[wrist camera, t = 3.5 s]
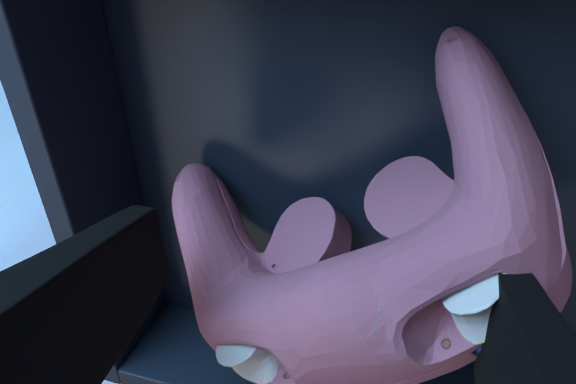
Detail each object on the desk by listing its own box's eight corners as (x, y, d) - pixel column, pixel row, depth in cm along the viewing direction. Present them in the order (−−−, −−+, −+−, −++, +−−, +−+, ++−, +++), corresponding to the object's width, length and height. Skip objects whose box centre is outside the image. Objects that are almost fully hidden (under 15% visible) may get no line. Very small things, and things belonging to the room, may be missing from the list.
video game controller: (256, 222, 18) (247, 425, 14) (165, 161, 15) (118, 396, 11) (531, 112, 13) (636, 372, 9) (475, -10, 10) (596, 294, 6)
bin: (858, -152, 8) (1096, -177, 5) (580, 401, 17) (610, 518, 13) (57, -127, 12) (-74, -132, 9) (154, 307, 21) (101, 380, 18)
